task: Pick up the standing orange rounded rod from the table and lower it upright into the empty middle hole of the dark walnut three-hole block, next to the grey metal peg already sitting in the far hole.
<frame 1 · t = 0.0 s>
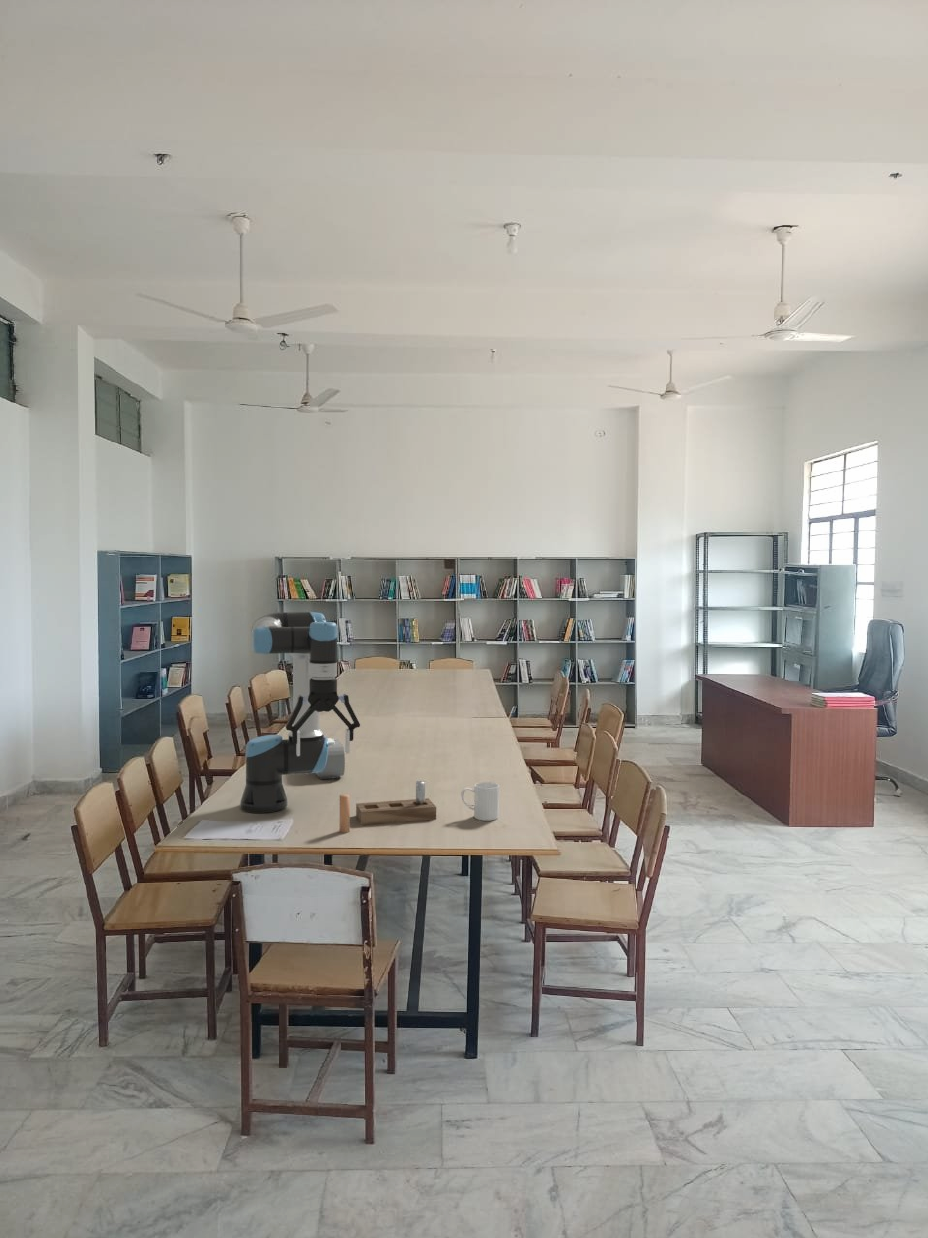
hand: (323, 754, 228), 28 cm above the table, fingers open, 13 cm apart
grey peg: (420, 815, 266), resting in hole block
mug: (479, 818, 265), on the table
hole block: (395, 817, 264), on the table
orange rounded rod: (344, 831, 249), on the table
alarm clock: (327, 775, 317), on the table
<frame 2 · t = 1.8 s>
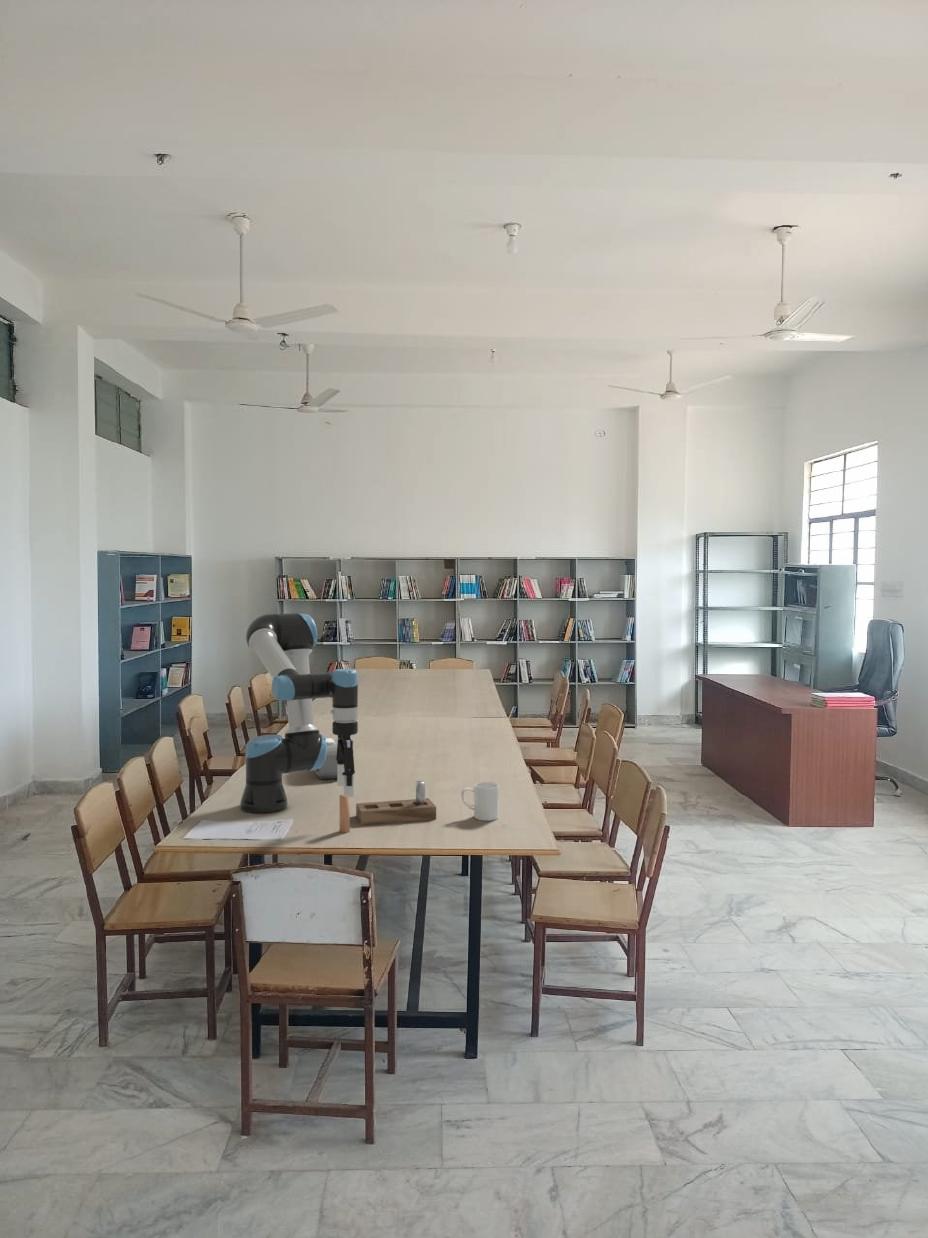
hand: (345, 790, 248), 13 cm above the table, fingers open, 13 cm apart
nothing on the table moved.
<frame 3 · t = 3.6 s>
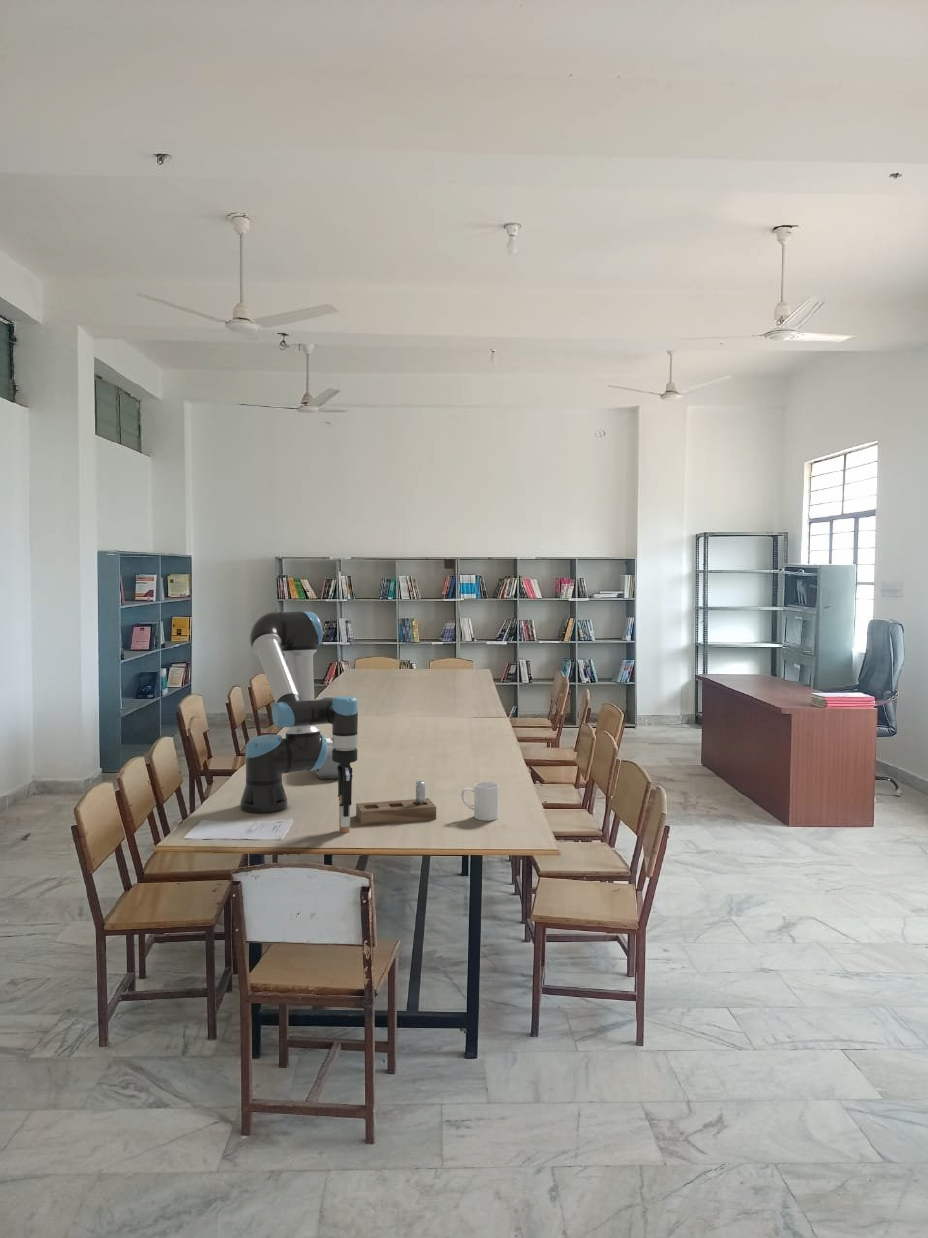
hand: (344, 824, 249), 2 cm above the table, fingers closed on orange rounded rod, 3 cm apart
orange rounded rod: (344, 831, 249), on the table, touching gripper
everything else where it was.
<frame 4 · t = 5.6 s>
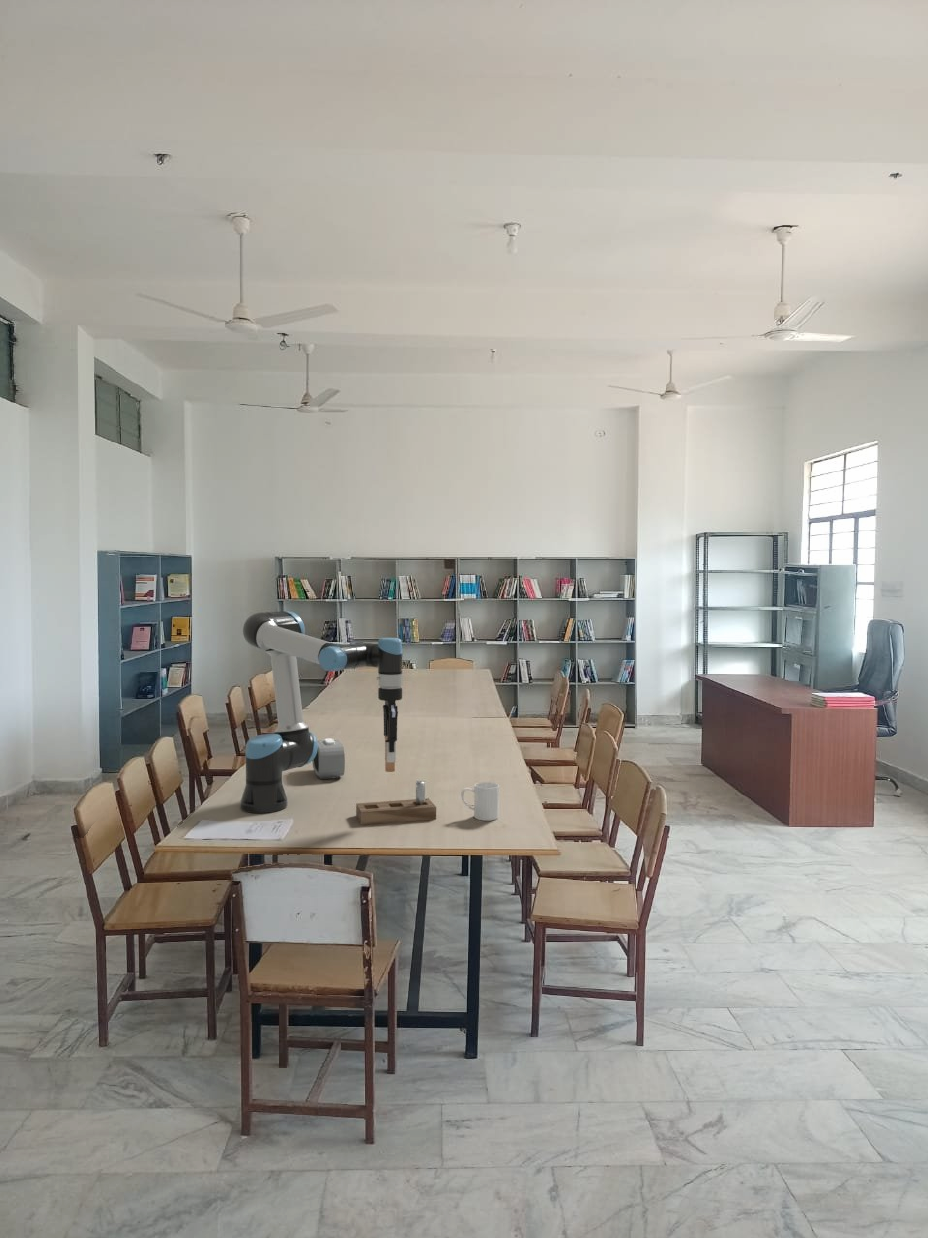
hand: (390, 760, 260), 19 cm above the table, fingers closed on orange rounded rod, 2 cm apart
orange rounded rod: (390, 770, 260), point 16 cm above the table, touching gripper
everything else where it was.
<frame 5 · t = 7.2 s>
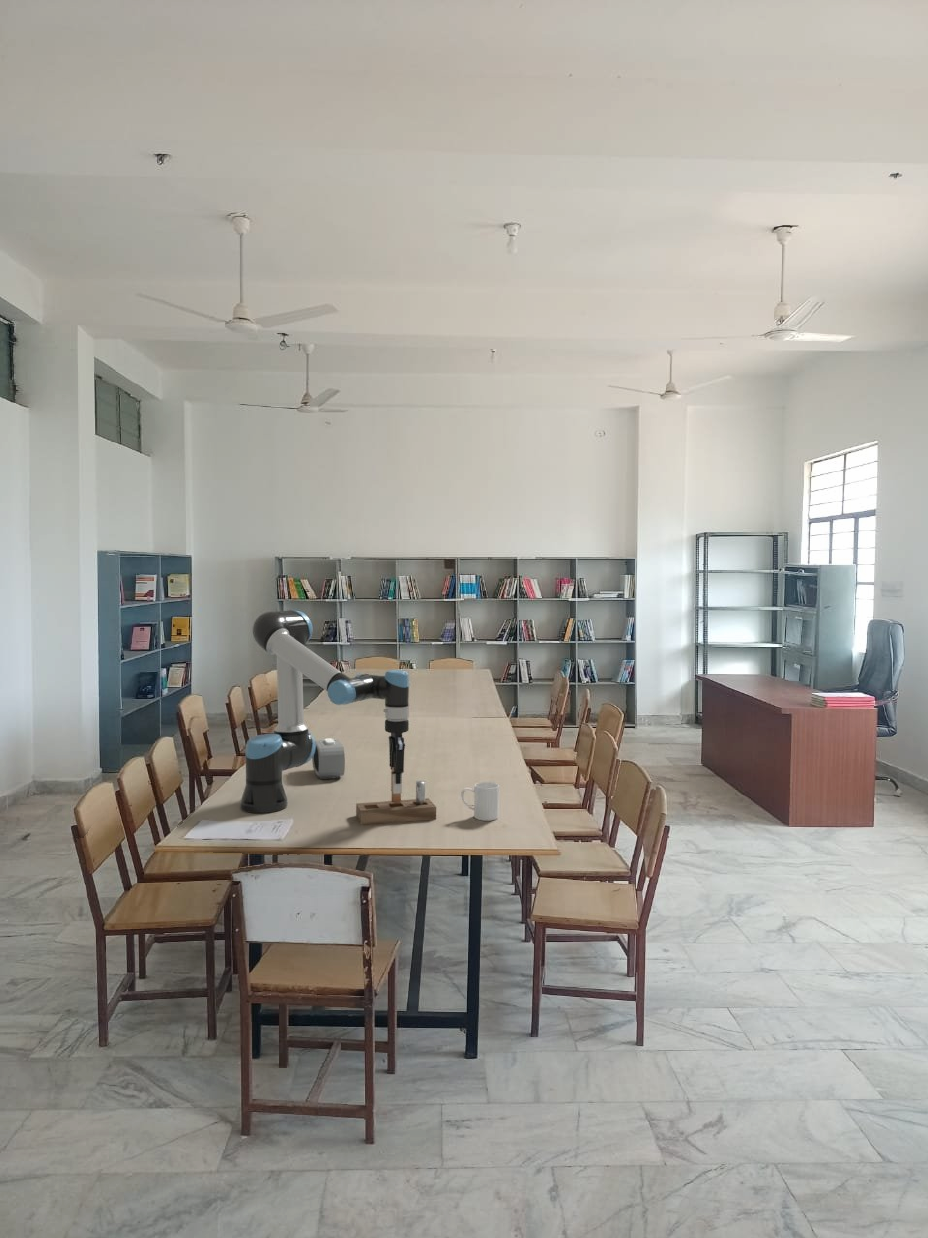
hand: (396, 791, 263), 8 cm above the table, fingers closed on orange rounded rod, 2 cm apart
orange rounded rod: (396, 801, 263), point 5 cm above the table, touching gripper
everything else where it was.
when the fingers open (5 cm above the table, at t = 8.1 s): orange rounded rod drops 2 cm, resting in hole block.
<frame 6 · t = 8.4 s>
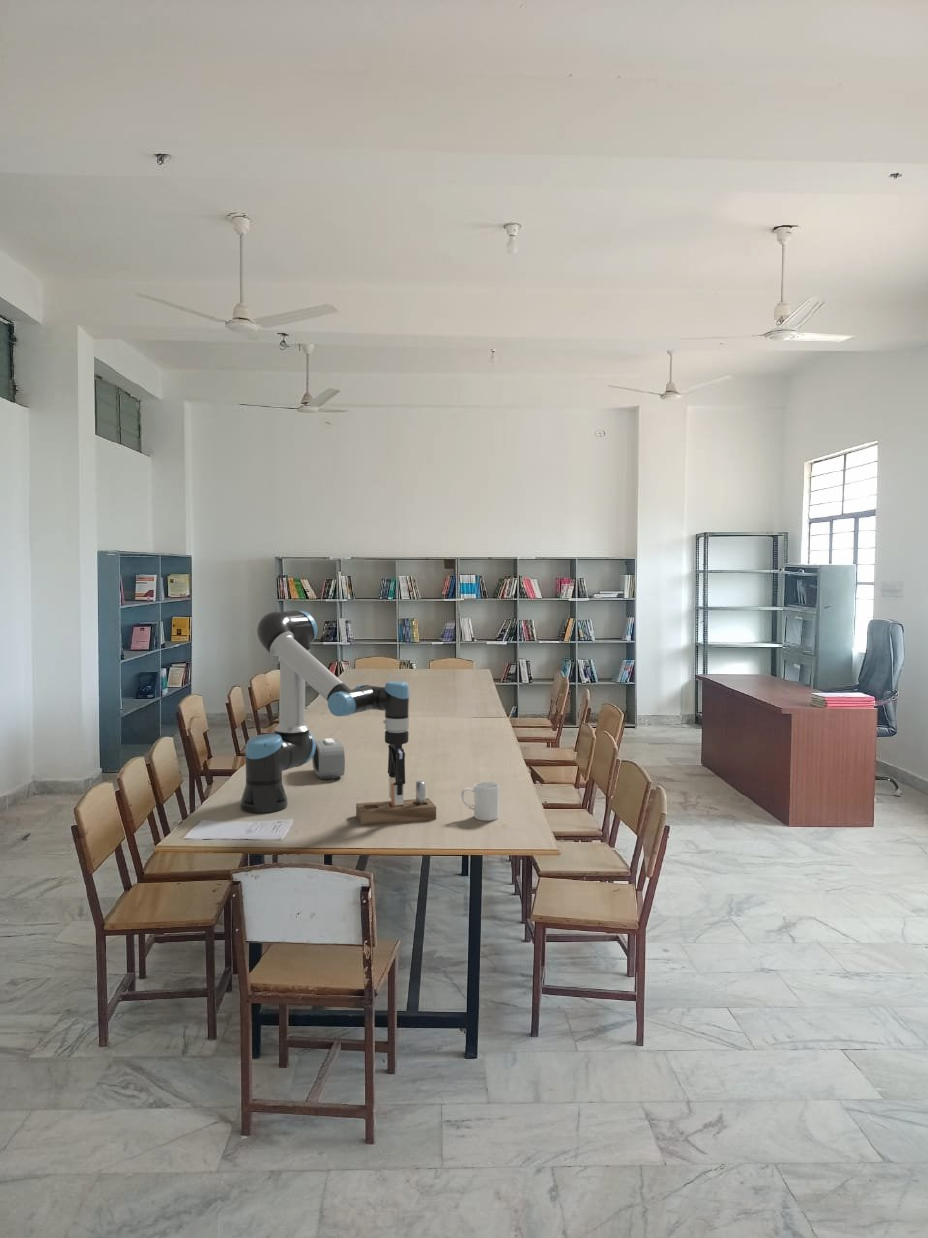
hand: (396, 800, 263), 5 cm above the table, fingers open, 8 cm apart
orange rounded rod: (395, 817, 264), resting in hole block
everything else where it was.
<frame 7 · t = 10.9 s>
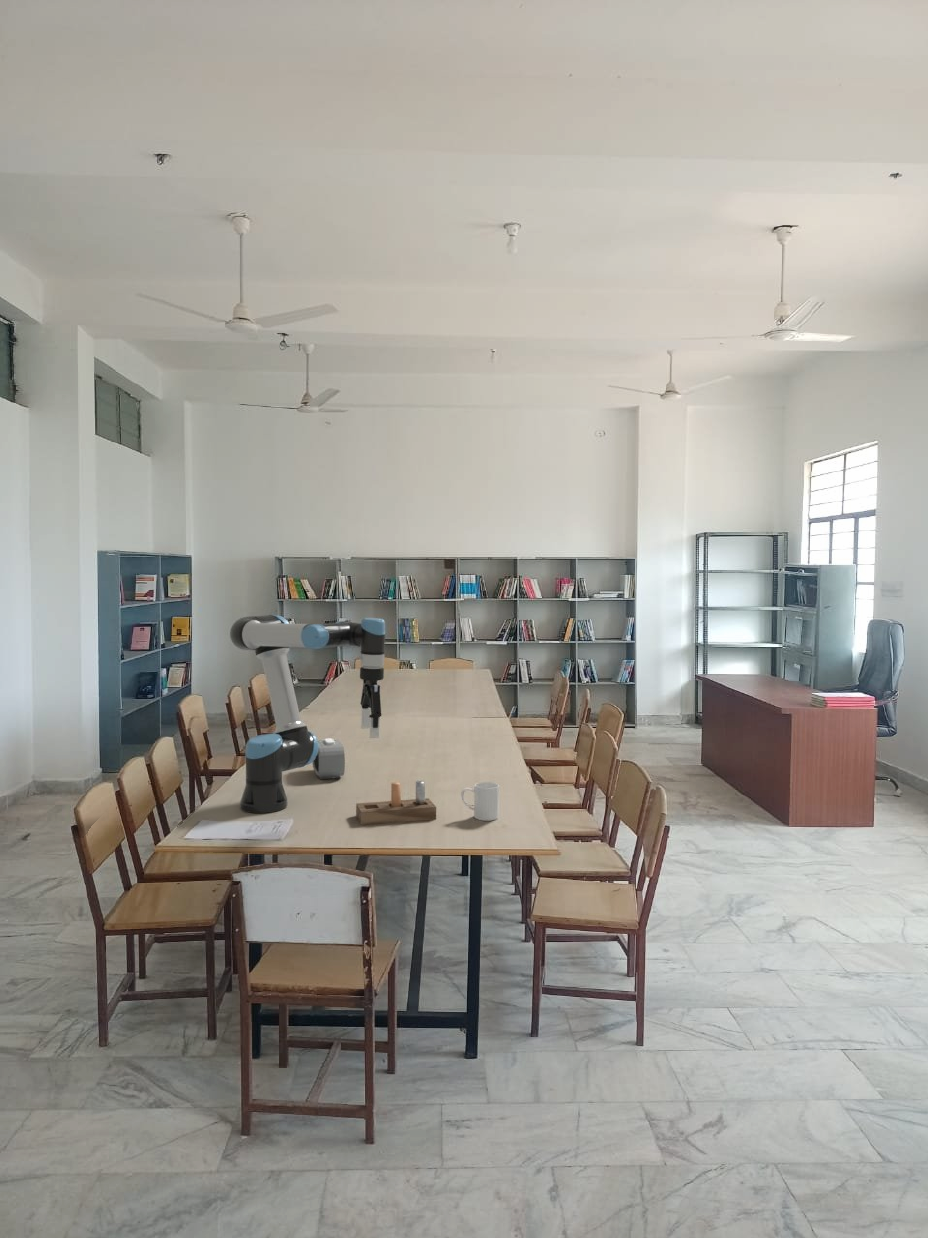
hand: (369, 733, 263), 27 cm above the table, fingers open, 13 cm apart
nothing on the table moved.
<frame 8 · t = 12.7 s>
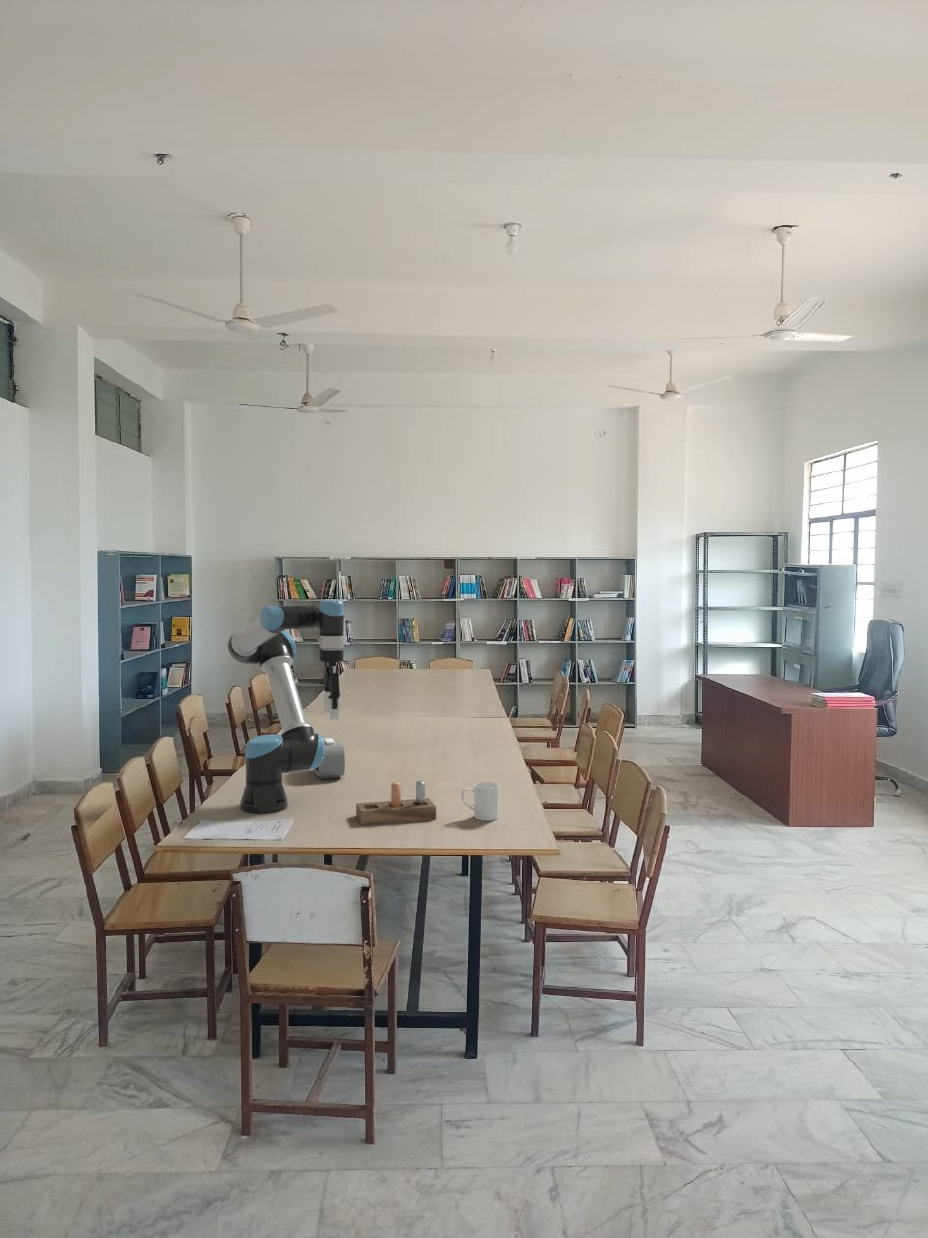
hand: (331, 715, 262), 33 cm above the table, fingers open, 13 cm apart
nothing on the table moved.
at the end: orange rounded rod 0.0 cm off-centre on the hole block, point 0.0 cm above the hole block's base; orange rounded rod tilted 0°; the gripper is holding nothing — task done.
